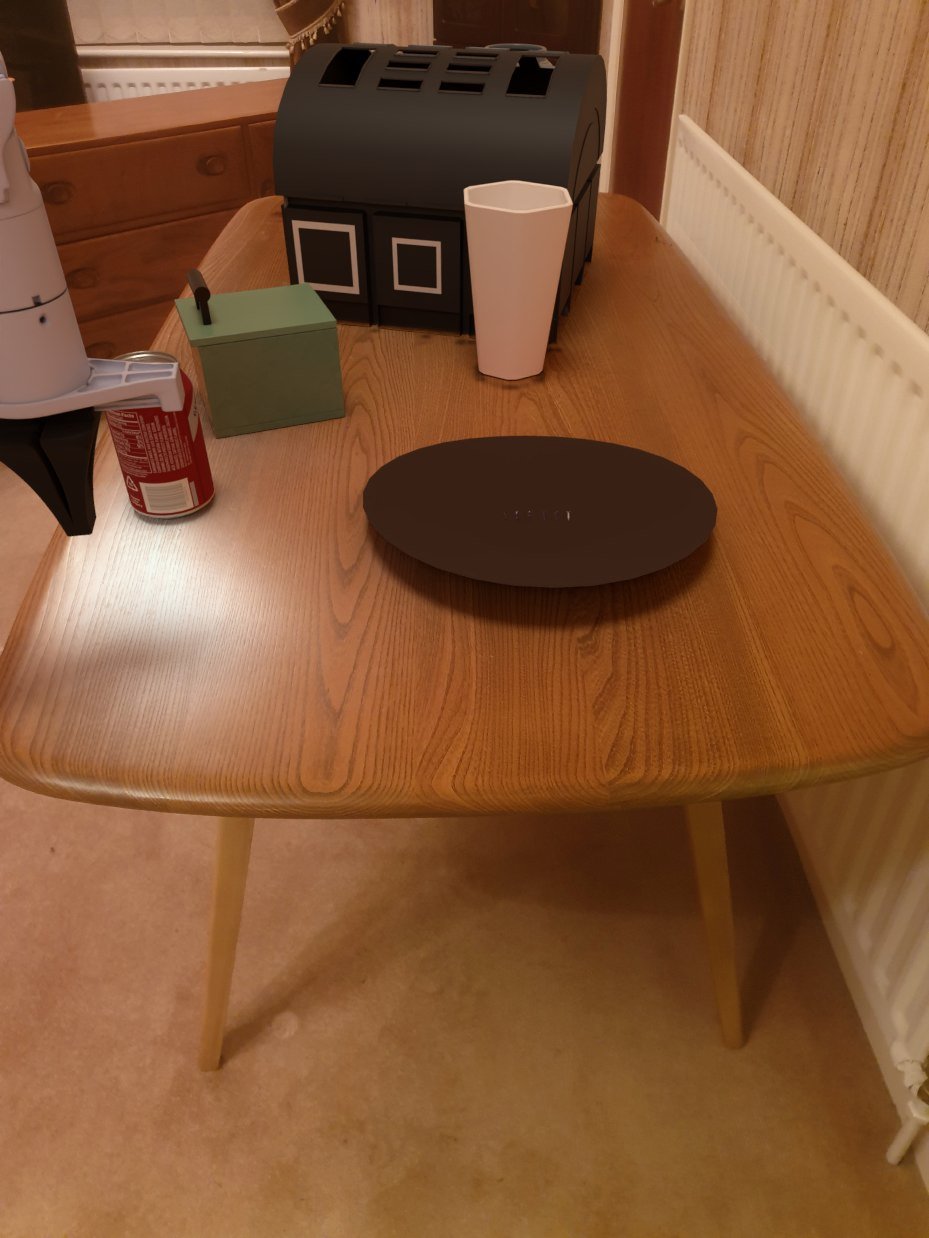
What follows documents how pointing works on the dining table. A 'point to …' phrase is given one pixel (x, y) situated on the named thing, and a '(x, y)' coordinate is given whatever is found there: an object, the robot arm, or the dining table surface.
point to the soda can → (162, 451)
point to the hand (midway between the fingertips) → (82, 526)
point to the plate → (540, 510)
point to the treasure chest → (427, 171)
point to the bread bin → (270, 381)
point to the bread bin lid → (249, 312)
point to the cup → (515, 271)
